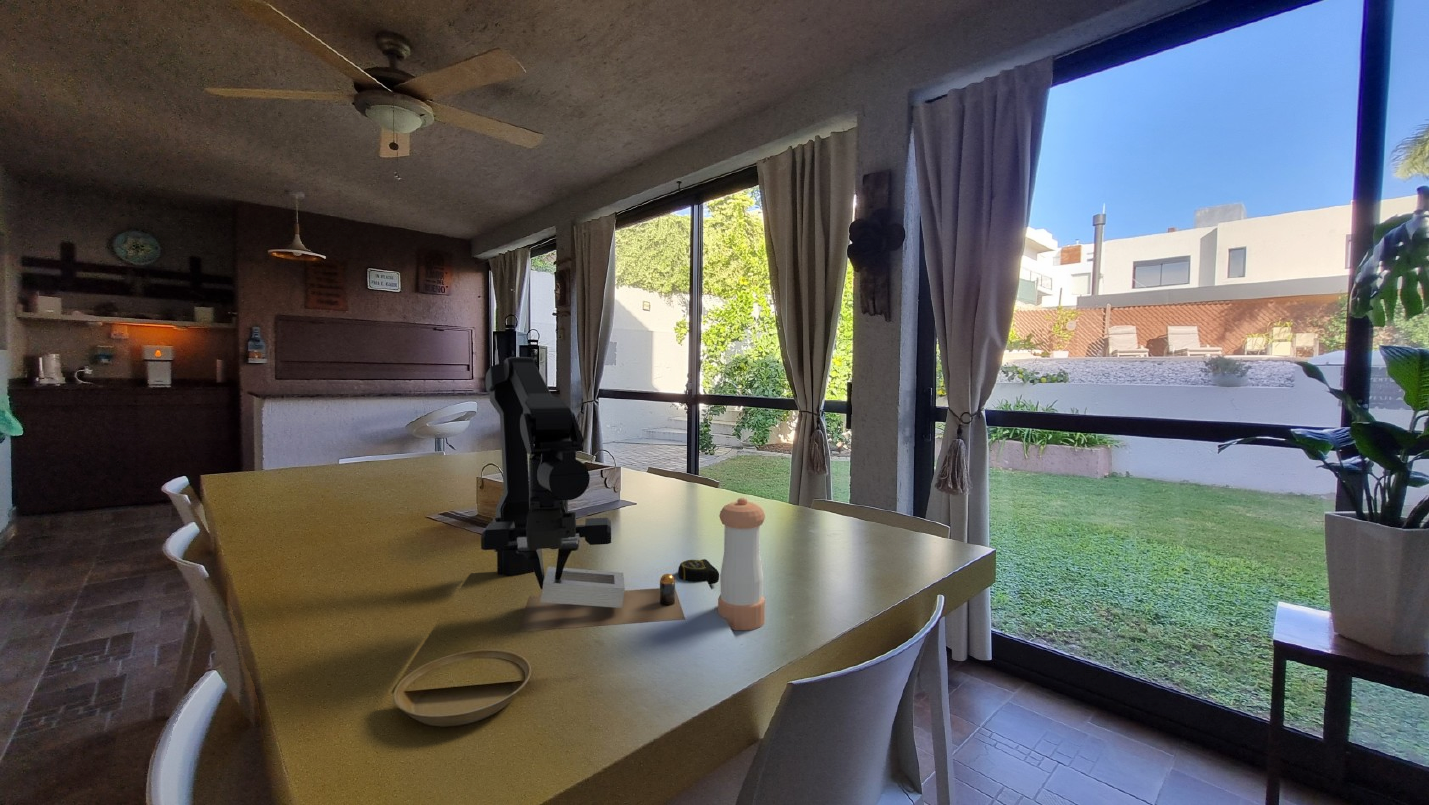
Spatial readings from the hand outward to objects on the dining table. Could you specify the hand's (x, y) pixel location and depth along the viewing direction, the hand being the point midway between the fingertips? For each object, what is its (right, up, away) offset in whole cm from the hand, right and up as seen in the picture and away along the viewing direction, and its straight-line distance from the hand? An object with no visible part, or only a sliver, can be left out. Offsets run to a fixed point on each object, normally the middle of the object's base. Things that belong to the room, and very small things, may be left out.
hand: (549, 588), depth 88 cm
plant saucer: (-4, -7, -21) cm, 22 cm away
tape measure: (+23, -5, +17) cm, 29 cm away
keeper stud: (+18, -4, +4) cm, 19 cm away
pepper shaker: (+30, -6, +1) cm, 30 cm away
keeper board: (+8, -5, +2) cm, 10 cm away
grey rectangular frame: (+5, -2, +1) cm, 5 cm away
